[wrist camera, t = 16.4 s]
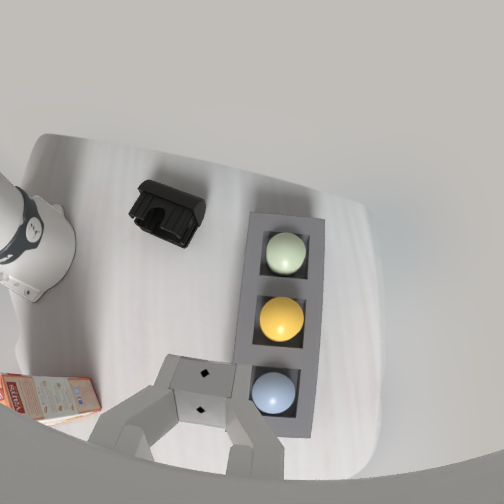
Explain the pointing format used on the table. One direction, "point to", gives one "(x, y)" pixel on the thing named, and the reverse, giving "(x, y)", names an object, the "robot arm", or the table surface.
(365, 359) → the table surface
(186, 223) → the end cap
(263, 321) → the amber button
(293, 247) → the sage button
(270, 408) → the slate button
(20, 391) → the cracker box
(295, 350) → the button console
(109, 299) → the table surface
